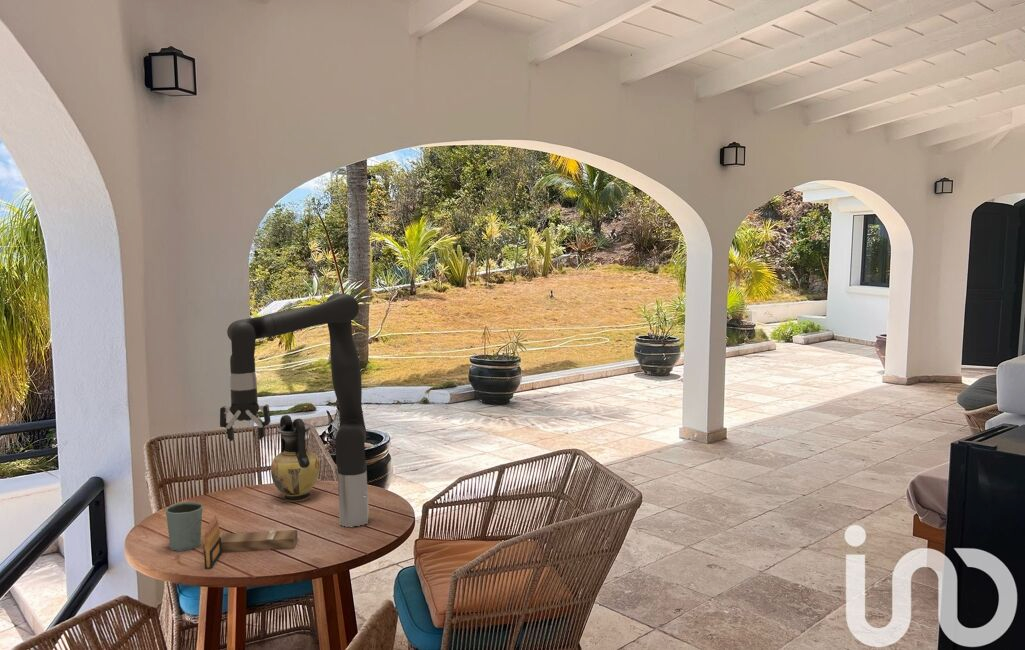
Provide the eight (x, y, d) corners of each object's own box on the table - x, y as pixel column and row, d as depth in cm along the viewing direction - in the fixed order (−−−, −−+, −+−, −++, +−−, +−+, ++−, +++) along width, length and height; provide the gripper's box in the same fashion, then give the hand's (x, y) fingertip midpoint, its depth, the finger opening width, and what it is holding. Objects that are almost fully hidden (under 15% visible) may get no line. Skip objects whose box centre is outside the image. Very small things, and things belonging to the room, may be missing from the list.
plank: (297, 539, 228) (297, 529, 228) (293, 548, 221) (293, 537, 221) (210, 544, 225) (209, 533, 225) (203, 553, 218) (202, 542, 218)
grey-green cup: (163, 545, 224) (160, 507, 223) (196, 536, 231) (194, 499, 230) (175, 555, 217) (173, 515, 216) (209, 545, 224) (207, 507, 223)
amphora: (261, 499, 265) (258, 417, 262) (300, 487, 279) (297, 409, 276) (292, 509, 255) (288, 424, 252) (331, 496, 268) (328, 415, 265)
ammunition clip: (211, 568, 208) (209, 527, 206) (204, 568, 207) (202, 527, 206) (222, 553, 218) (219, 513, 217) (215, 553, 218) (213, 514, 217)
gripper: (270, 384, 226) (272, 435, 228) (222, 385, 224) (225, 437, 226) (265, 388, 219) (267, 442, 220) (215, 390, 217) (218, 443, 219)
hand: (246, 439), depth 223 cm, fingers open, 8 cm apart
